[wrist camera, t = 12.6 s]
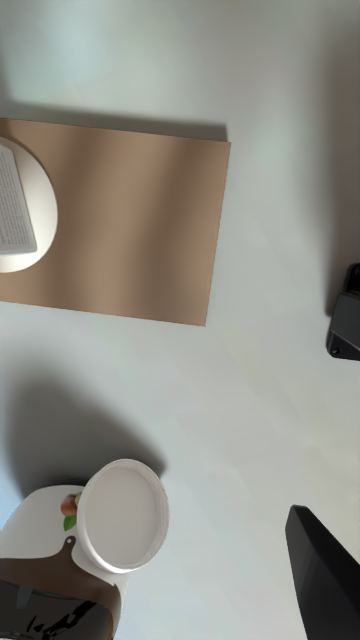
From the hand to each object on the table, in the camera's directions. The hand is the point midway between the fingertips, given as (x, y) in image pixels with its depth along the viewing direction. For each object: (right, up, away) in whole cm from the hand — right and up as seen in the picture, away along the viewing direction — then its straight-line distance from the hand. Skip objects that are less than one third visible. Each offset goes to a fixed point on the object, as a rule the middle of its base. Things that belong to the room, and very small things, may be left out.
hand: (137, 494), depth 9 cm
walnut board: (-5, +11, +11) cm, 17 cm away
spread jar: (-6, -10, +17) cm, 21 cm away
